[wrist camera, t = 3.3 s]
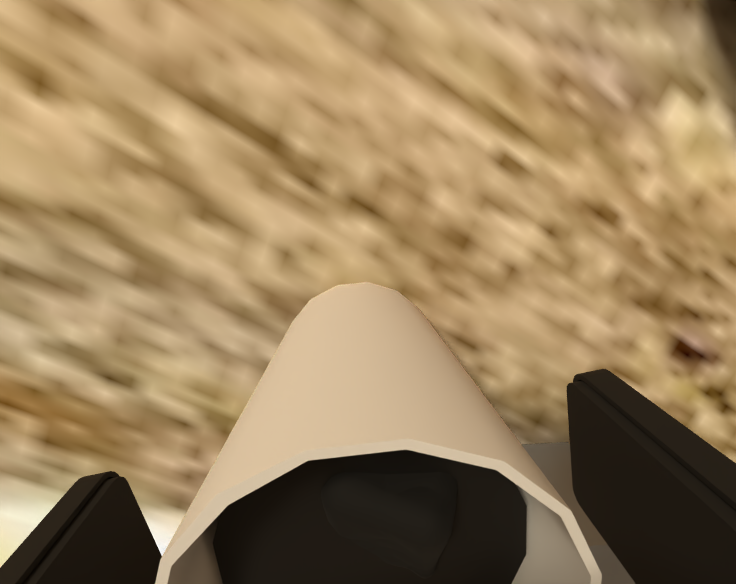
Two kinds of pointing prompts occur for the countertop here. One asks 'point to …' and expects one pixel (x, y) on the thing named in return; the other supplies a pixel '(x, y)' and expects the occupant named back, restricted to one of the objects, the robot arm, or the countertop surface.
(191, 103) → the countertop surface
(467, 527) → the cream cup
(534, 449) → the slate-grey block
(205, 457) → the countertop surface
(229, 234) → the countertop surface
